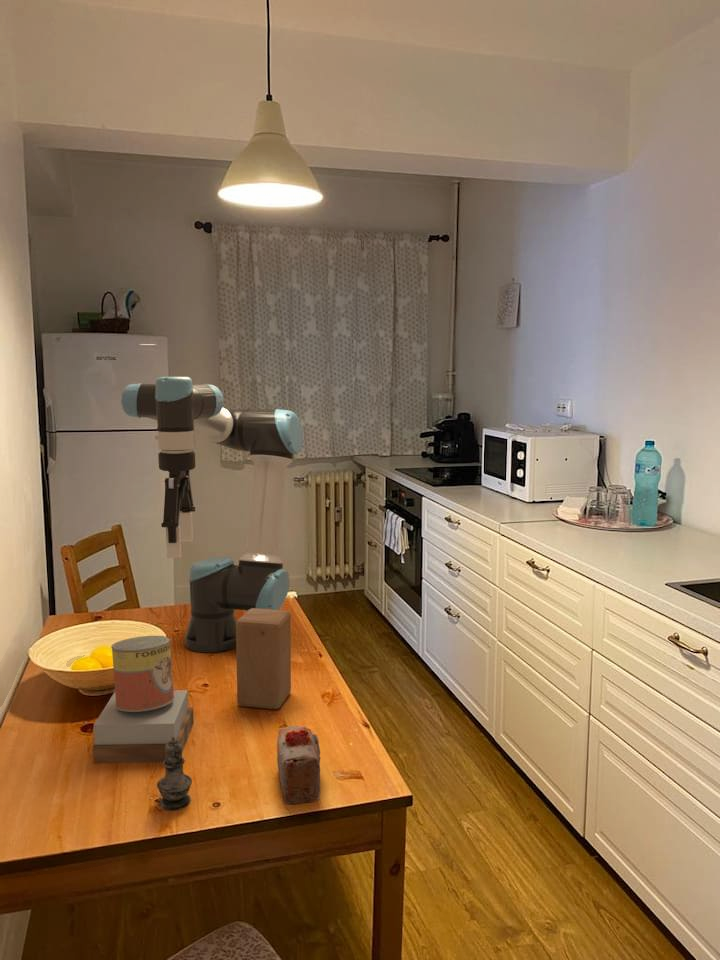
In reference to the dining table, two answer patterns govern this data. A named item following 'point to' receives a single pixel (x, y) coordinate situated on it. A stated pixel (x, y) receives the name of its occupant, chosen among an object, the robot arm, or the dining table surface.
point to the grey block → (141, 723)
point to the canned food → (142, 673)
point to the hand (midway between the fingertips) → (180, 549)
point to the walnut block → (141, 748)
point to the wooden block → (263, 658)
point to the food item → (298, 764)
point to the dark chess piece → (174, 779)
